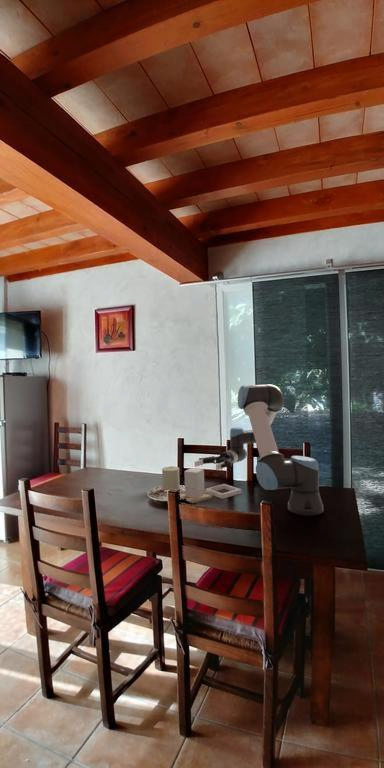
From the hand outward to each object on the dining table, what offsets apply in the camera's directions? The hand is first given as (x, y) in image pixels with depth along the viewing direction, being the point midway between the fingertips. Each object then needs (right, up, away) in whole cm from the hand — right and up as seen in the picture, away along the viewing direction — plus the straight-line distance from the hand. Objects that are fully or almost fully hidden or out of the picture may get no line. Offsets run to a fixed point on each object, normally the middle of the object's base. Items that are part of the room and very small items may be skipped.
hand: (205, 465), depth 203 cm
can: (-18, -14, +6) cm, 24 cm away
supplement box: (-6, -13, -7) cm, 16 cm away
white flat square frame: (+9, -13, -2) cm, 16 cm away
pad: (-5, -14, -8) cm, 17 cm away
